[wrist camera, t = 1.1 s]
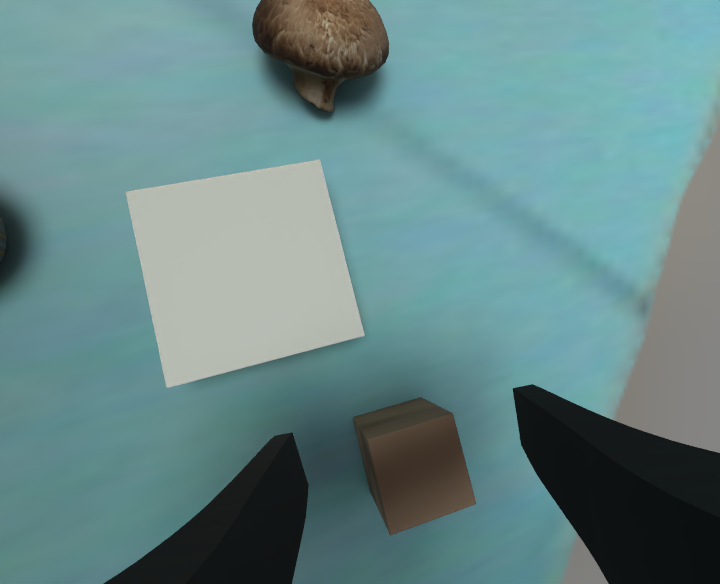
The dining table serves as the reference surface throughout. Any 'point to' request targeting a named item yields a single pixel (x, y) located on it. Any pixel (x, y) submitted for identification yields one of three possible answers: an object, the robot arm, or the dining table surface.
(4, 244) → the vase
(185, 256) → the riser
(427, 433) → the walnut block
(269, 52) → the mushroom
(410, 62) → the dining table surface
